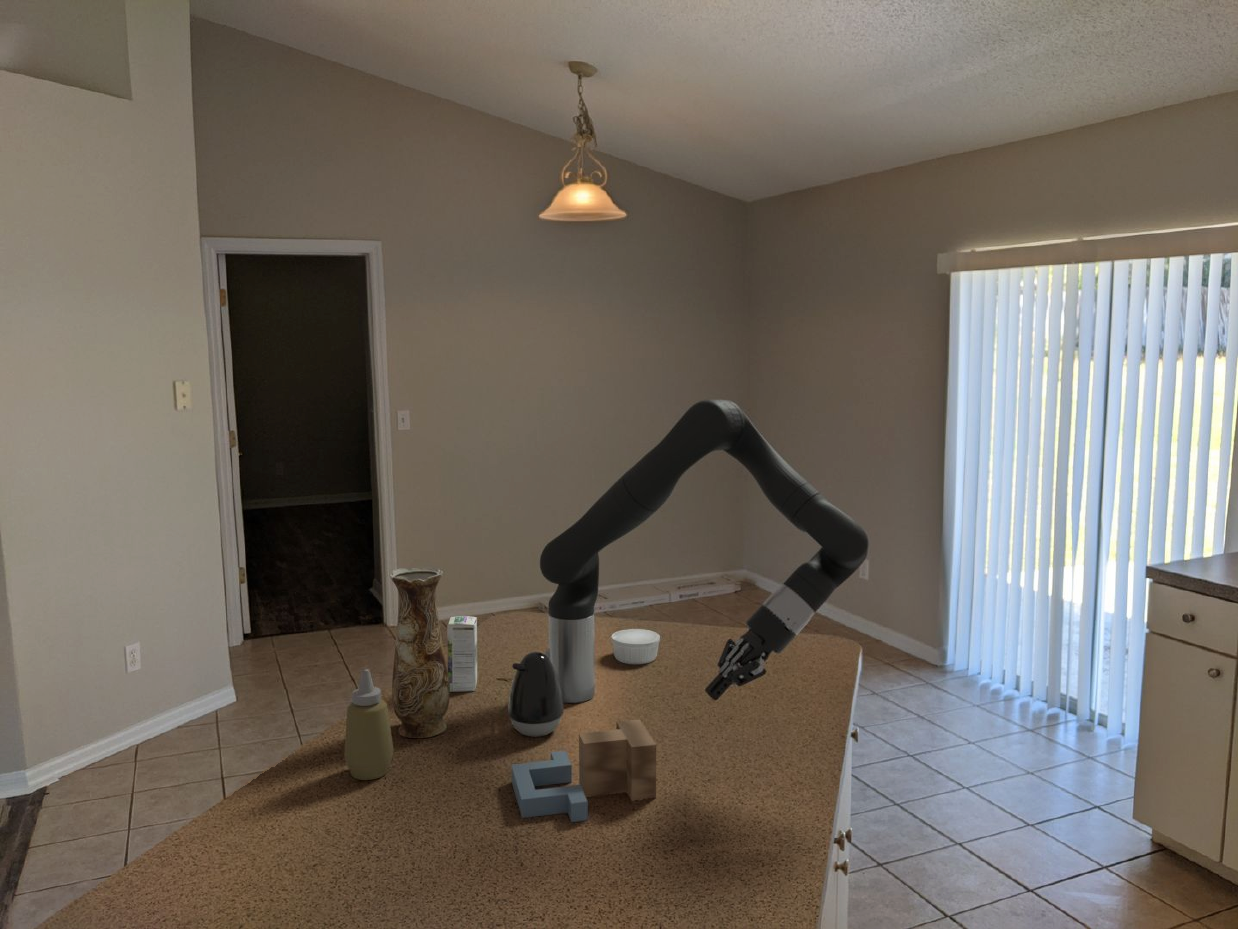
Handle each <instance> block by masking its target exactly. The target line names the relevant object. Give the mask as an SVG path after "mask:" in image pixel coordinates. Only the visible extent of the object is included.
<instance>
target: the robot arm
mask: <svg viewBox="0 0 1238 929" xmlns="http://www.w3.org/2000/svg"><path fill="white" fill-rule="evenodd" d="M715 451H724V452H725V453H727V454H728V455H729V456H731V457H733V458H734V459H735V460H737V461H738V462H739V463H741V465H742V466H744V468H746V470H747V471H748V472H749V473H750V474H751V476H752V477H753V479H754V480H755V481H756V482H757V484H758V486H759V488H760V489H761V491H762V493H763V494H764V495H765V497H766V498H767V500H768V501H769V502H770V503H771V504H772V506H773V507H774V508H776V510H777V511H778V512H780V514H781V515H783V516H784V517H785V519H787V520H788V521H789V522H790V523H791V524H792V525H793V526H794V527H795V528H796V529H798V530H800V531H801V532H803V533H806V534H808V535H809V536H810V537H811V538H812V539H813V540H814V541H815V542H816V543H817V544H818V545H819V546H820V548H819V550H817V552H816V553H815V554H814V555H813V556H812V557H811V558H810V559H809V561H808V562H804V563H801V565H800V566H798V567H797V568H796V569H795V570H794V571H793V572H792V573H791V574H790V575H789V577H788V578H786V580H785V581H784V582H783V584H781V585H780V586H779V587H778V588H776V590H774V591H773V592H772V593H771V594H770V595H769V596H768V597H767V598H766V600H765V601H764V602H763V603H762V604H761V605H760V606H759V607H757V609H756V611H755V612H754V613H753V614H752V615H751V616H750V617H749V618H748V619H747V620H746V622H745V626H746V627H747V628H748V631H747V632H745V633H744V634H743V635H741V636H740V637H739V639H737V640H736V641H735V640H733V639H732V638H729V639H727V641H726V643H725V645H724V646H723V649H722V652H721V655H720V658H719V659H718V662H717V667H718V668H719V669H718V674H717V675H716V676H715V678H713V680H712V681H711V682H710V683H709V684H708V685H707V686H706V687H705V689H704V691H705V693H706V694H707V695H708V696H709V697H710V699H712V700H714V701H718V700H719V698H721V696H722V695H723V694H724V693H725V692H726V691H727V690H728V689H729V687H730V686H733V687H734V686H735V685H736V686H737V687H742V686H744V685H746V684H748V683H750V682H753V681H754V680H756V679H759V678H761V677H763V676H764V675H766V674H767V670H766V668H765V667H764V664H765V662H766V661H767V660H768V658H769V657H770V655H771V653H772V652H773V653H775V654H776V655H780V654H781V653H782V652H784V650H785V649H786V648H787V647H788V645H790V644H791V642H792V641H793V640H794V639H795V638H796V637H797V636H798V635H799V633H801V632H802V630H803V629H804V628H805V627H806V626H807V625H808V623H809V622H810V620H812V618H813V617H814V615H815V613H816V612H817V611H819V609H820V608H821V607H822V605H823V604H824V603H825V602H826V601H827V600H828V599H829V598H830V597H831V595H832V594H833V593H834V591H835V590H836V589H838V588H839V586H841V585H842V584H843V583H844V582H846V581H847V580H848V579H849V578H850V577H851V576H852V575H853V574H854V573H855V572H856V571H857V570H858V569H860V567H861V565H862V564H863V563H864V562H865V560H866V559H867V557H868V552H869V551H868V550H869V537H868V535H867V533H866V532H865V530H864V529H863V527H862V526H861V525H859V523H857V522H856V520H854V519H853V518H852V517H851V516H849V515H848V514H846V512H843V511H842V510H841V509H839V508H838V506H835V505H833V504H832V503H831V502H829V501H828V500H827V499H826V497H824V496H823V495H822V494H821V493H820V492H819V491H818V490H817V489H816V488H815V487H814V486H813V485H812V484H811V483H810V482H808V481H807V480H806V479H805V478H804V477H803V476H802V475H800V473H798V472H797V471H796V470H795V469H794V468H793V467H792V466H791V465H790V464H789V463H788V462H787V460H785V459H784V458H783V457H782V456H781V455H780V454H779V453H778V452H777V451H776V450H775V448H773V446H772V445H771V444H770V443H769V442H768V441H767V439H766V438H764V436H763V435H762V433H760V431H759V430H758V429H757V427H756V426H755V425H754V423H753V421H751V420H750V418H749V417H748V416H747V414H746V413H745V412H744V410H742V408H740V406H739V405H738V404H736V403H735V402H733V401H732V400H729V399H722V398H721V399H714V398H712V399H711V398H710V399H703V400H700V401H698V402H695V403H694V404H692V406H690V407H689V408H688V409H687V410H686V412H684V414H682V416H681V418H679V420H678V421H677V422H676V423H675V425H673V427H672V428H671V430H669V432H668V433H667V434H666V435H665V436H664V437H663V438H662V440H660V442H659V443H658V444H657V445H656V446H655V447H653V448H652V449H651V450H649V451H648V452H647V453H646V454H645V455H644V456H643V457H642V458H641V459H640V460H639V461H637V462H636V463H635V464H634V465H633V466H632V467H630V468H629V469H628V471H626V472H625V473H623V475H622V476H620V478H619V479H617V481H615V483H613V484H612V485H611V486H610V488H609V489H607V491H605V493H604V494H602V496H600V497H599V498H598V499H597V501H595V503H594V504H593V505H592V506H590V508H589V509H588V510H587V511H586V512H585V513H584V514H583V516H581V517H580V518H579V519H578V520H577V521H576V522H575V523H573V524H572V525H571V526H569V528H567V529H565V530H564V532H562V533H561V534H559V535H557V536H556V537H554V538H553V539H552V540H551V541H549V542H548V543H547V544H546V545H545V546H544V548H543V550H542V552H541V554H540V557H539V558H540V559H539V568H540V572H541V574H542V576H543V577H544V578H545V580H547V581H549V582H550V583H552V584H554V585H555V584H556V585H557V587H556V590H555V592H554V593H553V595H552V596H551V597H550V598H549V600H548V605H547V606H548V607H547V608H548V647H547V648H546V649H545V651H544V654H545V655H546V656H547V657H548V658H549V660H550V661H551V663H552V665H553V667H554V669H555V672H556V675H557V677H558V681H559V684H560V688H561V693H562V699H563V703H564V704H565V703H567V704H568V703H569V704H571V703H572V704H574V703H575V704H576V703H583V702H587V701H589V700H591V699H592V698H594V696H595V605H596V601H597V600H598V595H599V581H600V579H599V578H600V557H599V552H601V551H602V550H603V549H604V548H606V547H607V546H609V545H611V544H612V543H614V542H616V541H618V540H619V539H620V538H623V537H624V536H625V535H628V533H630V532H632V531H633V530H635V529H636V528H638V527H639V526H640V525H642V524H643V523H645V522H646V521H647V520H648V519H649V518H651V517H652V516H653V514H655V513H656V512H657V511H658V510H659V509H660V508H661V507H662V506H663V505H664V504H665V502H667V500H668V499H669V497H670V496H671V494H672V493H673V491H674V489H675V487H676V485H677V484H678V482H679V480H680V479H681V477H682V476H683V475H684V474H685V473H686V472H687V471H688V470H689V469H690V468H691V467H693V466H694V465H695V464H697V462H699V461H700V460H702V459H703V458H705V457H706V456H707V455H709V454H710V453H712V452H715Z"/></svg>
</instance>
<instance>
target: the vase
mask: <svg viewBox="0 0 1238 929" xmlns="http://www.w3.org/2000/svg"><path fill="white" fill-rule="evenodd" d="M443 574H444V572H443V570H441V568H438V567H436V566H435V567H434V566H425V567H423V568H422V569H420V568H417V567H413V568H411V569H410V570H408V569H407V568H397V569H394V570H392V571H391V573H390V574H389V577H390V579H391V581H392V582H393V584H394V585H395V587H396V589H397V592H398V606H397V610H398V611H397V623H396V635H395V636H396V637H395V638H396V639H395V646H394V647H395V648H394V660H393V671H392V679H391V680H392V684H391V686H392V687H391V693H392V694H391V695H392V696H391V698H392V707H393V711H394V714H395V716H396V717H397V718H398V719H399V721H401V724H400V726H399V728H398V734H399V735H401V737H405V738H408V739H425V738H431V737H435V736H437V735H441V733H443V732H445V731H446V729H447V724H446V722H445V721H444V718H443V717H444V716H445V715H446V714H447V711H448V710H449V705H450V692H449V679H448V665H447V662H446V656H445V650H444V643H443V639H442V638H443V637H442V632H441V627H440V621H439V613H438V612H439V611H438V606H437V599H436V596H437V595H436V590H437V586H438V584H439V582H440V580H441V578H442V576H443Z"/></svg>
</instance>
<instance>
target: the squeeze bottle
mask: <svg viewBox="0 0 1238 929" xmlns="http://www.w3.org/2000/svg"><path fill="white" fill-rule="evenodd" d="M373 682H374V681H373V679H372V675H371V672H370V669H369V668H366V669H362V671H361V675H360V680H359V686H358V688H357V689H355V690H353V691H352V695H351V696H352V702H351V703H350V704H349V705H347V707H346V709H347V710H346V711H347V712H346V724H345V737H344V738H345V741H344V754H343V755H344V756H343V757H344V760H345V762H346V765H347V767H348V770H349V772H350V775H351V776H352V777H353V778H354V779H356V780H359V781H371V780H372V781H373V780H375V779H378V778H382V777H384V776H385V775H386V774H387V773H388V771H389V768H390V763H391V761H392V758H393V754H394V745H393V744H394V742H393V737H392V730H391V724H390V722H391V721H390V718H389V717H390V715H389V710H388V703H387V702H386V701H385V700H383V699H382V691H381V688H379V687H376V686H374V683H373Z"/></svg>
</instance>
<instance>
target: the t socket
mask: <svg viewBox="0 0 1238 929" xmlns="http://www.w3.org/2000/svg"><path fill="white" fill-rule="evenodd" d="M510 767H511V768H510V769H511V785H512V788H513V790H514V791H513V792H514V794H515V795H514V796H515V799H516V802H517V807H518V809H519V812H520V813H519V814H520V817H521V819H525V818H534V817H541V816H548V815H549V816H551V815H558V814H565V813H567V814H568V817H569V819H570V822H571V823H575V822H577V823H578V822H583V821H588V820H589V817H588V816H589V815H588V813H589V812H588V811H589V808H588V806H589V805H588V804H589V803H588V799H587V797H585V795H584V792H583V790H582V788H581V785H579V784H575V785H567V786H558V787H548V788H541V789H536V787H541V786H550V785H560V784H567V783H572V782H573V780H572V779H573V775H572V774H573V773H572V772H573V771H572V770H573V769H572V768H573V765H572V763H571V761H570V758H569V756H568V753H567V751H566V750H557V751H551V752H550V760H542V761H540V760H539V761H531V762H523V763H522V762H521V763H514V764H513V763H512V764H511V766H510Z"/></svg>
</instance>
